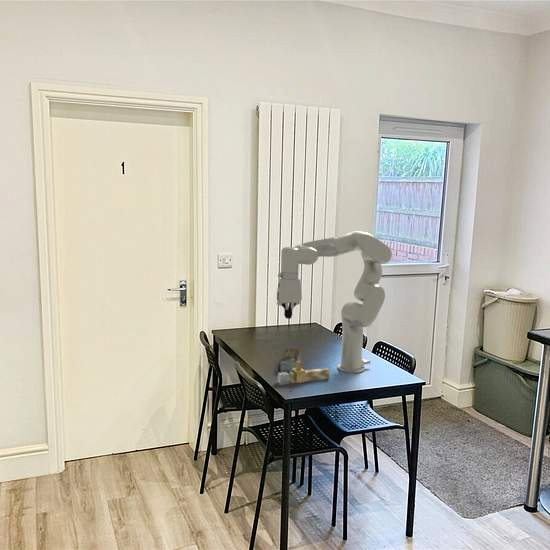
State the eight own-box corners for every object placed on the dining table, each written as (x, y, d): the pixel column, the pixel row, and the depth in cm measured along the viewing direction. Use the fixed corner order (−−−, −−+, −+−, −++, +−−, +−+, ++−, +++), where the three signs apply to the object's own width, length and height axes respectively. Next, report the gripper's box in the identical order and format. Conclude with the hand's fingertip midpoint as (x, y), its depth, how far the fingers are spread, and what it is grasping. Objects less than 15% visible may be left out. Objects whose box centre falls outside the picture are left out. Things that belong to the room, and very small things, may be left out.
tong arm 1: (326, 376, 243) (327, 368, 242) (327, 377, 242) (328, 368, 241) (289, 380, 236) (289, 371, 236) (290, 381, 235) (290, 372, 234)
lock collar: (299, 378, 239) (300, 359, 238) (304, 382, 235) (305, 362, 233) (291, 379, 238) (292, 360, 236) (296, 383, 233) (297, 363, 232)
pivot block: (286, 381, 236) (286, 371, 235) (289, 384, 233) (289, 374, 232) (277, 382, 234) (277, 372, 234) (280, 385, 231) (280, 375, 231)
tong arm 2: (327, 377, 242) (328, 368, 241) (329, 378, 241) (329, 369, 240) (290, 382, 235) (291, 373, 234) (292, 382, 234) (292, 374, 233)
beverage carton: (279, 372, 248) (279, 358, 247) (284, 360, 267) (285, 347, 266) (296, 374, 247) (297, 360, 246) (301, 361, 266) (301, 348, 265)
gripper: (276, 278, 228) (275, 321, 230) (309, 276, 233) (307, 318, 236) (270, 275, 234) (268, 317, 237) (301, 274, 240) (300, 315, 243)
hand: (288, 317), depth 237 cm, fingers closed
